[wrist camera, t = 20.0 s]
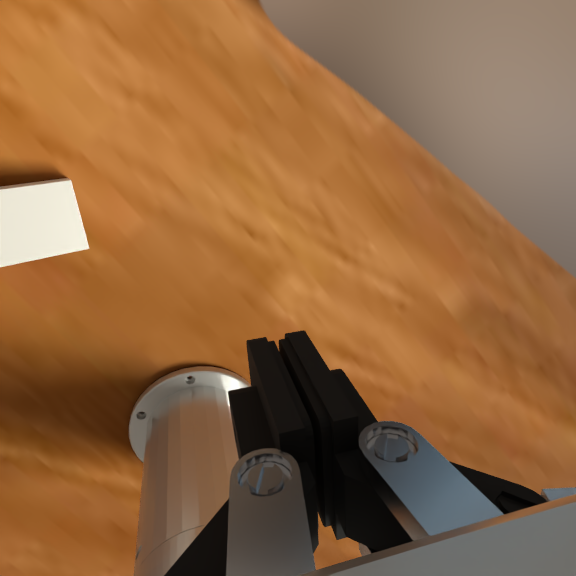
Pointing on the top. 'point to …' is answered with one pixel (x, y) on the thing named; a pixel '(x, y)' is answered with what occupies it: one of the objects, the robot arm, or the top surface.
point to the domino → (39, 221)
